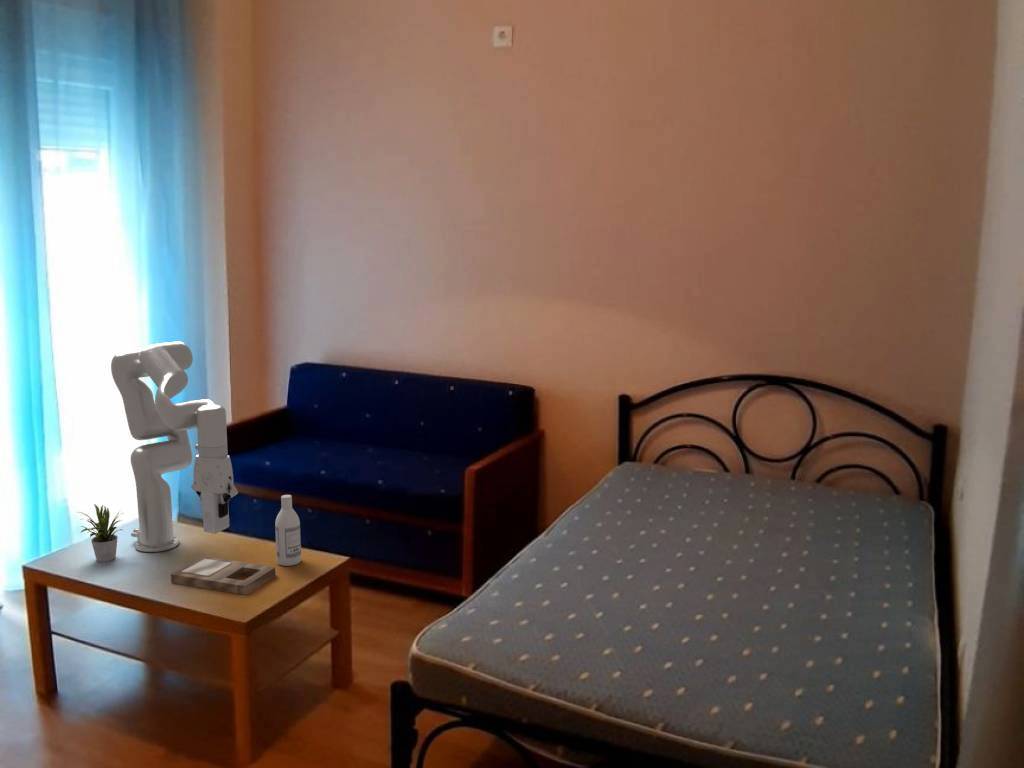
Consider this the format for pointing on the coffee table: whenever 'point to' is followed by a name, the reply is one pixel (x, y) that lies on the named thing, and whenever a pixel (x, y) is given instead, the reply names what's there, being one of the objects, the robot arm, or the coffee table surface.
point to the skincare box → (212, 513)
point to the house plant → (103, 535)
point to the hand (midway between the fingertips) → (215, 514)
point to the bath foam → (288, 534)
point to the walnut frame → (223, 575)
